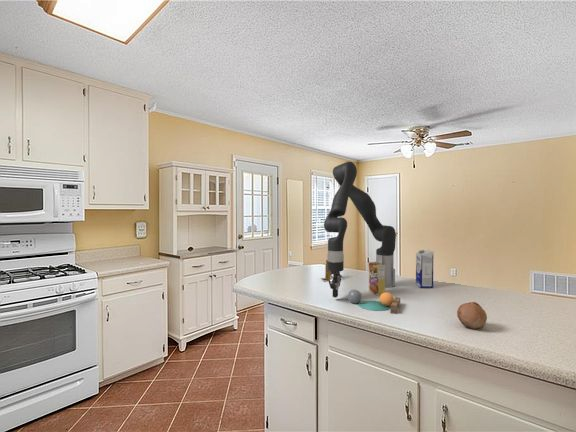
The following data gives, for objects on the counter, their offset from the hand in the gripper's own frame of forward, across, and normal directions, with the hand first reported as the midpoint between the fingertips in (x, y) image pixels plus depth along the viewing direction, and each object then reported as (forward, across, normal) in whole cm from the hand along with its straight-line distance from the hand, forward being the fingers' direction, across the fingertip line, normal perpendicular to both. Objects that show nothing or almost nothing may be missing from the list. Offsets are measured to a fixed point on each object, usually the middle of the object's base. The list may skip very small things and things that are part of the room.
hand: (335, 297), depth 150 cm
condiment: (+2, -38, -16) cm, 41 cm away
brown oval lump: (+2, +10, +55) cm, 56 cm away
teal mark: (+2, 0, +18) cm, 18 cm away
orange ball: (-2, -2, +23) cm, 23 cm away
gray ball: (-2, 0, +9) cm, 9 cm away
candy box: (+2, -21, +15) cm, 26 cm away
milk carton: (+2, -46, +36) cm, 58 cm away
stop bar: (+2, 0, +27) cm, 27 cm away
